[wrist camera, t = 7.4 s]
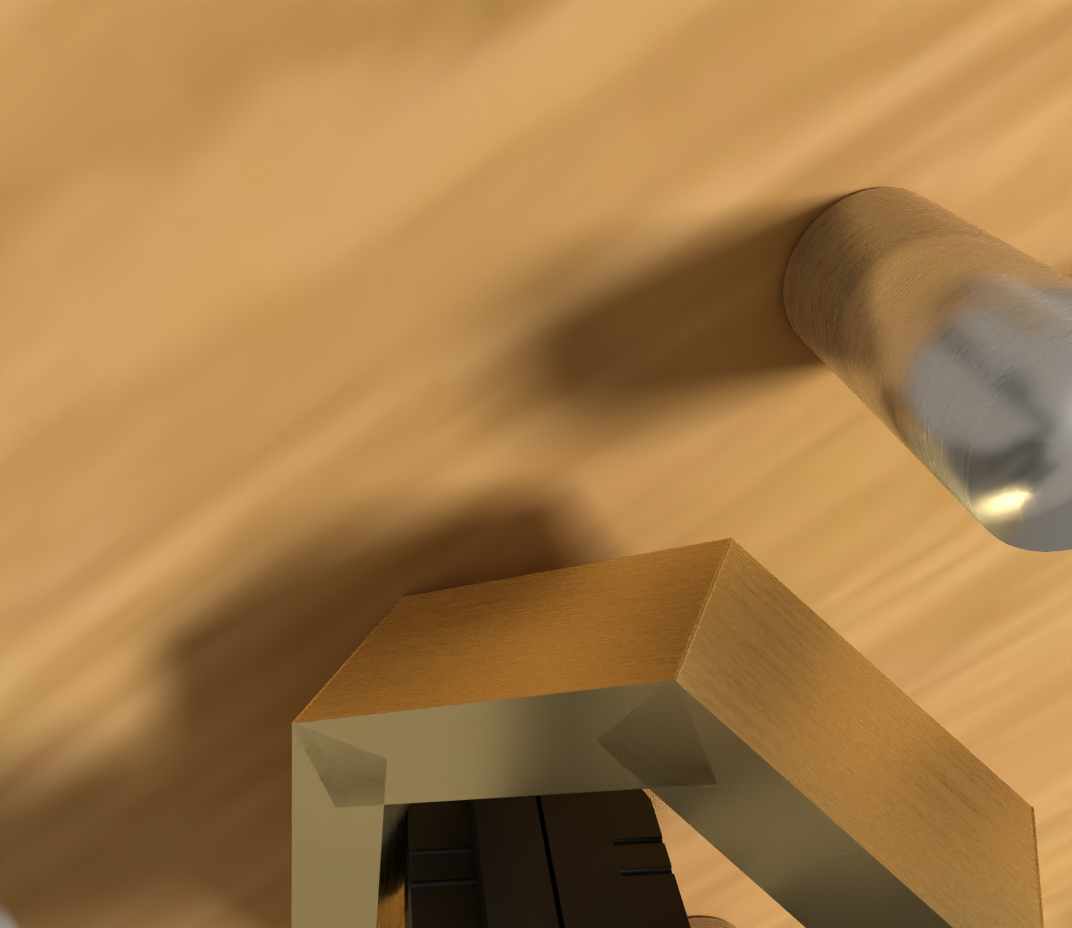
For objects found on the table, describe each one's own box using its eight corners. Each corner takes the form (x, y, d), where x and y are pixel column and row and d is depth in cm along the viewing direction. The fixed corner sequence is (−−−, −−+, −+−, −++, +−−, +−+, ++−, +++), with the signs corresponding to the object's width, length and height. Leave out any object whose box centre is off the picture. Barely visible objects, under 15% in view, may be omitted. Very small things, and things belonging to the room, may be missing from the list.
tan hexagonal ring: (380, 932, 16) (289, 1082, 14) (413, 444, 12) (290, 550, 9) (867, 1143, 14) (850, 1355, 12) (1112, 648, 10) (1154, 839, 8)
